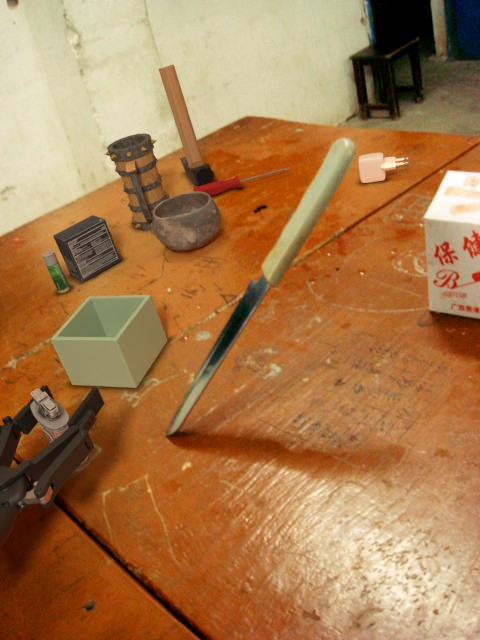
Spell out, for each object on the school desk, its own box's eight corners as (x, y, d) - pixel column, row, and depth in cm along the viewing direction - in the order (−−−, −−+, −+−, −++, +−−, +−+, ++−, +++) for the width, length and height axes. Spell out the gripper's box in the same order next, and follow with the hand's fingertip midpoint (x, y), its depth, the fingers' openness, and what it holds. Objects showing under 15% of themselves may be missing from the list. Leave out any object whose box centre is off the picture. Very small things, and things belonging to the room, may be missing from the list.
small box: (108, 254, 148) (92, 213, 143) (122, 260, 143) (106, 218, 138) (69, 275, 143) (51, 234, 138) (82, 283, 139) (64, 240, 133)
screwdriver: (292, 176, 161) (289, 163, 159) (196, 202, 162) (193, 190, 160) (289, 172, 164) (287, 159, 162) (195, 197, 165) (192, 185, 163)
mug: (179, 203, 164) (156, 127, 153) (180, 231, 150) (154, 149, 139) (131, 215, 165) (104, 140, 154) (127, 244, 150) (97, 164, 140)
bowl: (149, 254, 143) (135, 214, 137) (198, 223, 151) (187, 184, 145) (189, 266, 133) (176, 223, 128) (240, 232, 141) (229, 191, 136)
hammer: (186, 178, 185) (152, 71, 173) (202, 173, 185) (169, 66, 174) (198, 187, 166) (161, 67, 155) (216, 180, 167) (180, 61, 156)
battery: (72, 287, 138) (55, 249, 133) (64, 294, 136) (46, 256, 131) (64, 286, 139) (47, 248, 134) (55, 293, 138) (38, 254, 133)
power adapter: (409, 170, 148) (407, 146, 145) (410, 178, 144) (408, 154, 141) (361, 177, 151) (358, 153, 148) (360, 185, 147) (357, 161, 144)
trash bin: (72, 385, 107) (49, 339, 102) (107, 339, 117) (88, 295, 112) (136, 387, 103) (116, 340, 97) (167, 340, 112) (151, 294, 107)
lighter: (47, 447, 87) (16, 392, 81) (68, 432, 88) (40, 377, 83) (73, 475, 81) (42, 417, 76) (96, 459, 83) (67, 401, 77)
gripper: (-88, 547, 74) (24, 410, 91) (54, 574, 66) (147, 419, 83) (-123, 505, 70) (2, 370, 87) (24, 528, 62) (129, 375, 79)
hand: (73, 394), depth 85 cm, fingers closed on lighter, 7 cm apart
